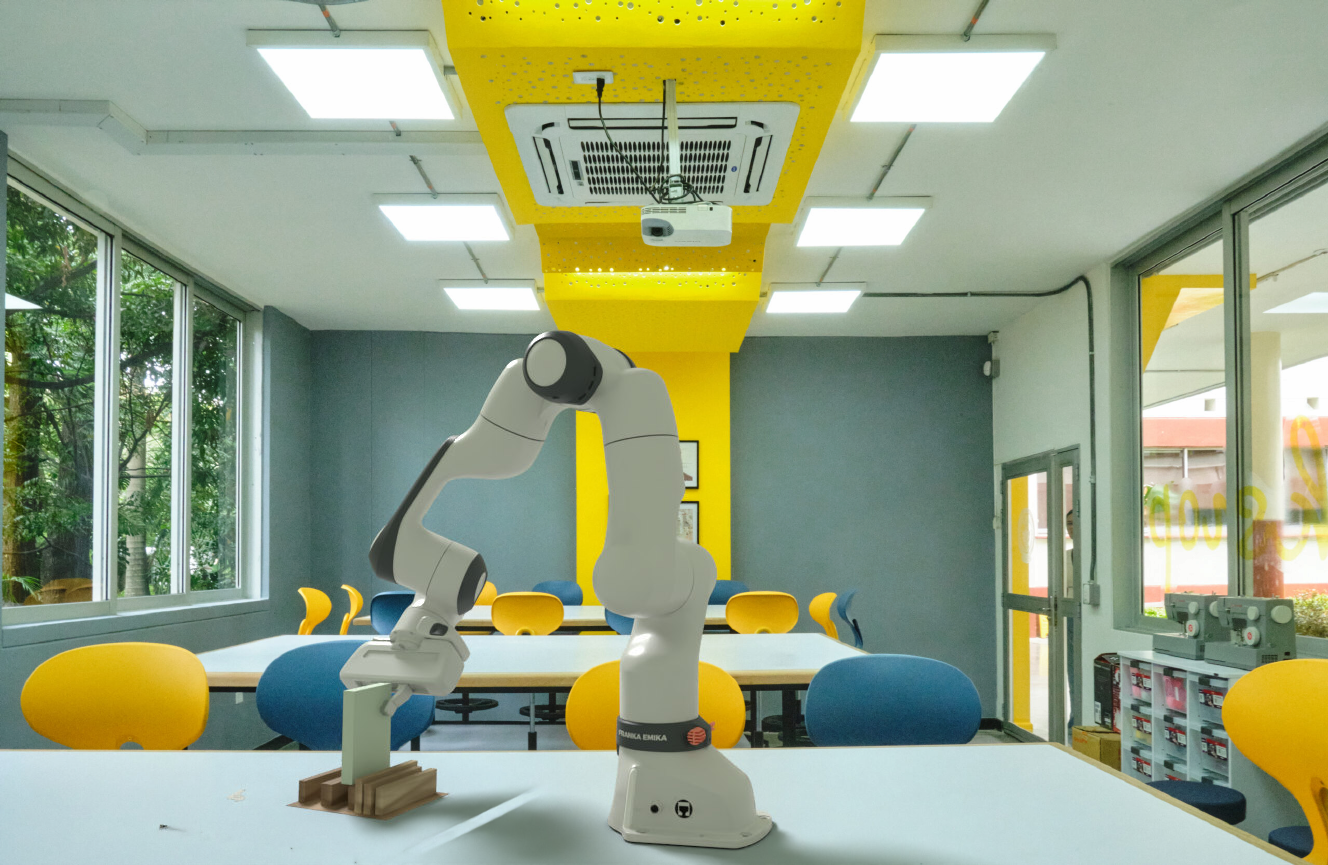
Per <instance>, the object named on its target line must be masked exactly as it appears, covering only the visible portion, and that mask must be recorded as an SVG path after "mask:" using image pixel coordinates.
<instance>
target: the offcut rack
mask: <svg viewBox="0 0 1328 865" xmlns="http://www.w3.org/2000/svg"><path fill="white" fill-rule="evenodd" d="M418 764H419V762H418V760H416V759H415V760H414V759H410V760H407V761H404V762H401V763H399V764H396V765H393V766H390V767H389V768H386V769H383V770H380V771H378V772H375V773H372V774H369V775H366V776H363V777H360V778H357V779H355V784H353V785H348V784H341V772H342V766H340V767H337V768H333V769H330V770H327V771H325V772H321V773H318V774H315V775H311V776H309V777H305V778H303V779H299V780H298V796H297V798H298V799H297V800H298V801H295V802H291V803H289V804H286V805H285V807H291V808H292V807H293V808H298V809H299V808H300V809H306V810H313V811H318V812H319V811H320V812H326V813H334V814H338V815H339V814H341V815H346V816H347V815H348V816H354V817H360V818H367V819H373V820H381V821H388V820H390V819H394V818H395V817H397V816H400V815H402V814H405V813H407V812H410V811H411V810H414V809H417V808H419V807H421V806H423V805H426V804H429V803H431V802H433V801H435V800H438V799H440V798H443V797H445V796H449V794H450V793H449V792H440V791H437V780H438V778H437V777H438V776H437V774H438V769H437V768H434V767H429V768H426V769H423V766H421V765H418Z"/></svg>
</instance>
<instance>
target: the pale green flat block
mask: <svg viewBox="0 0 1328 865" xmlns="http://www.w3.org/2000/svg"><path fill="white" fill-rule="evenodd" d="M391 684H392V683H377V684H372V685H368V686H363V687H358V688H354V689H345V690H343V692H342V693H343V696H342V698H343V699H342V700H343V701H342V733H341V734H342V736H341V737H342V738H341V739H342V740H341V741H342V742H341V743H342V744H341V746H342V747H341V767H342V772H341V784H348V785H353V784H355V779H357V778H360V777H363V776H366V775H369V774H372V773H375V772H378V771H380V770H383V769H386V768H389V767H391V734H392V732H391V730H392V729H391V727H392V726H391V725H392V724H391V721H392V716H383V715H382V713H381V712H380V707H381V706H382V703H383V702H384V700H389V699H390V698H391V697H392V693H391Z"/></svg>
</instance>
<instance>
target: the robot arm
mask: <svg viewBox="0 0 1328 865" xmlns="http://www.w3.org/2000/svg"><path fill="white" fill-rule="evenodd" d="M673 407H674V406H673V404H672V400H671V398H670V394H669V391H668V388H667V385H666V382H665V381H664V379H663V378H662V376H661V375H660V374H659V373H657V372H656V371H654V370H651V369H648V368H644V367H637V365H636V363H635V362H634V361H633V360H632V359H631V358H630V357H629V355H627V354H626V353H625V352H623V351H622V350H621V349H617V348H614V347H613V346H612V347H611V346H610V345H608V344H605V343H604V342H602V341H600V340H598V339H597V338H594V337H590V336H587V335H581V334H577V333H575V332H573V331H569V330H564V329H563V330H560V329H559V330H551V331H546V332H543V333H540V334H539V335H537V336H536V337H535V338H533V340H531V341H530V343H529V344H528V346H527V348H526V349H525V352H524V355H523V357H522V358H521V357H520V358H516V359H514V360H511V361H510V362H509V363H508V364H507V365H506V366H505V368H504V369H503V370H502V371H501V374H500V375H499V376H498V378H497V379H496V381H495V383H494V385H493V386H492V388H491V389H490V391H489V393H488V395H487V397H486V399H485V401H484V403H483V405H482V408H481V410H480V412H479V414H478V416H477V418H476V419H475V421H474V422H473V424H472V425H471V426H470V427H469V428H468V429H467V430H466V431H464V433H462V434H453V435H450V436H449V437H448V438H446V440H445V441H443V442H442V443H441V445H440V446H439V447H438V448H437V449H436V451H435V453H433V455H432V457H431V458H430V459H429V461H428V462H427V463H426V465H425V466H424V467H423V470H422V471H421V473H420V474H419V475H418V477H417V478H416V479H415V482H414V483H413V485H412V486H411V487H410V489H409V491H408V493H407V494H406V495H405V497H404V499H403V500H402V502H401V503H400V504H399V506H398V508H397V509H396V511H395V512H394V513H393V515H392V516H391V517H390V518H389V520H388V521H387V523H386V524H385V525H384V526H383V527H382V528H381V530H380V531H379V532H378V533H377V535H376V536H375V537H374V539H373V541H372V543H371V545H370V549H369V552H368V555H367V556H368V557H367V558H368V562H369V564H370V566H371V568H372V571H373V572H374V574H375V576H376V577H377V579H380V580H384V581H387V582H389V583H393V584H395V585H400V586H403V587H405V588H407V589H409V590H411V591H414V592H415V594H414V597H413V601H412V602H411V604H409V605H408V606H407V607H406V608H405V610H404V611H403V613H402V614H401V616H400V618H399V620H397V623H396V624H395V626H394V627H393V629H392V630H391V632H390V633H389V637H384V638H383V637H382V638H381V637H373V638H372V639H370V640H368V641H366V642H364V643H362V644H361V645H360V646H359V647H357V649H356V650H355V651H354V652H353V653H352V655H351V656H350V657H349V658H348V660H347V661H346V662H345V663H344V665H343V666H342V668H341V669H340V672H339V680H340V681H341V682H342V684H343V685H344V686H345V687H346V689H347V690H349V689H354V688H358V687H363V686H368V685H372V684H377V683H392V684H391V694H393V695H391V698H390V699H389V700H384V702H383V703H382V706H381V707H380V712H381V713H382V715H383V716H391V717H393V716H394V714H395V713H396V711H397V710H398V708H399V707H401V706H402V705H403V704H406V702H407V701H409V700H410V698H411V696H413V695H420V696H432V697H433V696H434V697H446V696H449V694H451V693H452V692H453V691H454V690H455V688H456V687H457V684H458V683H459V681H460V679H461V677H462V674H463V672H464V668H465V662H467V660H468V659H469V658H470V656H471V652H470V650H469V648H468V645H467V644H466V642H465V641H464V639H463V638H462V636H461V635H460V633H459V632H458V631H457V629H456V625H457V624H458V623H460V622H461V620H462V619H463V618H464V616H465V615H466V614H467V613H468V612H469V611H472V610H473V608H474V606H475V604H476V603H477V601H478V599H479V597H480V595H481V594H482V592H483V590H484V588H485V587H486V583H487V580H488V576H489V575H488V569H487V565H486V562H485V560H484V557H483V555H482V554H481V553H479V552H478V551H476V550H475V549H472V548H471V547H468V546H466V545H464V544H461V543H459V542H457V541H455V540H451V539H449V538H447V537H445V536H443V535H440V534H438V533H435V532H433V531H431V530H429V529H428V528H425V527H424V525H423V523H422V521H423V518H424V517H425V516H426V515H427V512H429V510H430V508H431V506H432V505H433V503H434V502H435V500H436V499H437V498H438V496H439V495H440V493H441V491H442V490H443V488H444V487H445V486H446V484H448V483H449V482H451V481H454V480H459V479H475V480H477V479H479V480H505V479H506V480H507V479H512V478H514V477H517V476H519V475H522V474H524V473H525V472H526V471H528V470H529V469H530V468H531V467H532V466H533V464H534V463H535V461H536V460H537V458H538V456H539V455H540V452H541V450H542V447H543V446H544V444H545V441H546V439H547V437H548V434H549V431H550V429H551V427H552V425H553V423H554V421H555V419H556V417H557V416H558V415H559V414H560V413H562V412H563V411H564V410H567V409H572V410H575V411H577V412H584V413H590V414H595V415H597V417H598V420H599V422H600V426H601V435H602V442H603V452H604V460H605V461H604V462H605V469H606V471H605V472H606V476H607V477H606V478H607V489H608V515H607V525H606V530H605V537H604V538H605V539H604V544H603V549H602V551H601V553H600V555H599V556H598V558H597V559H596V561H595V564H594V567H593V568H592V569H593V570H592V575H591V576H592V577H591V578H592V579H591V582H592V588H593V591H594V594H595V597H596V598H597V600H598V601H599V603H600V604H601V605H602V607H604V608H605V609H606V610H607V611H609V612H611V613H613V614H615V615H619V616H622V617H626V618H630V619H634V620H633V624H632V629H631V633H630V636H629V639H628V642H627V644H626V647H625V649H624V650H623V652H622V654H621V657H620V661H619V714H618V715H617V717H616V733H615V743H616V745H615V746H616V755H617V756H618V760H617V769H616V778H615V779H616V780H615V786H614V793H613V799H612V804H611V807H610V812H609V815H608V818H607V824H608V825H609V826H610V827H611V828H612V829H614V830H616V831H617V832H619V833H620V834H621V836H622V838H623V840H625V841H627V842H634V843H650V844H663V845H667V844H668V845H675V846H676V845H677V846H678V845H681V846H692V847H693V846H694V847H708V848H709V847H710V848H722V849H723V848H724V849H739V848H743V847H747V846H749V845H753V844H755V843H757V842H759V841H760V840H762V839H763V838H764V837H765V836H767V835H768V833H769V832H770V831H771V830H772V828H773V820H772V816H771V814H770V813H769V811H764V810H760V809H757V807H756V800H755V798H756V797H755V792H754V788H753V786H752V781H751V780H750V778H749V776H748V775H747V773H746V772H744V770H742V769H740V768H739V767H738V766H737V765H735V764H734V762H732V761H731V760H730V759H729V758H728V757H726V756H725V755H724V753H722V752H721V751H719V750H718V748H716V747H715V746H714V745H713V744H712V740H713V739H712V738H713V737H712V736H713V735H712V733H713V731H714V730H716V728H715V727H714V726H715V724H716V721H712V722H710V723H708V722H707V721H706V720H705V719H704V718H703V717H702V716H701V714H699V663H700V662H699V660H700V653H701V652H700V651H701V645H702V638H703V631H704V627H705V621H706V617H707V616H706V615H707V610H708V604H709V601H710V597H711V595H712V594H713V591H714V589H715V586H716V584H717V581H718V580H717V579H718V569H717V565H716V562H715V559H714V558H713V556H712V555H711V553H710V552H709V551H708V550H707V549H706V547H703V546H702V545H700V544H698V543H696V542H694V541H693V540H690V539H688V538H685V537H678V527H679V526H678V524H679V514H680V508H681V503H682V501H683V498H684V497H685V494H686V483H685V482H686V481H685V475H684V467H683V460H682V453H681V452H682V451H681V446H680V438H679V432H678V427H677V425H678V424H677V421H676V415H675V412H674V408H673Z"/></svg>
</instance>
